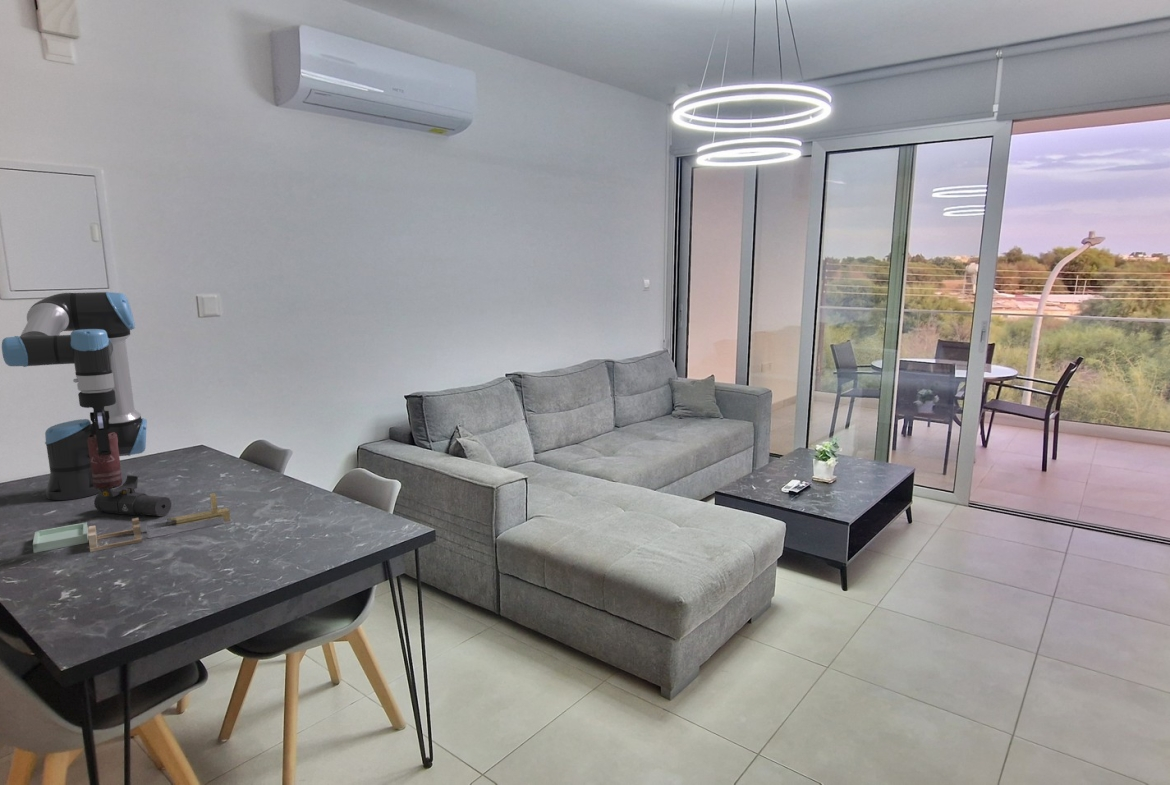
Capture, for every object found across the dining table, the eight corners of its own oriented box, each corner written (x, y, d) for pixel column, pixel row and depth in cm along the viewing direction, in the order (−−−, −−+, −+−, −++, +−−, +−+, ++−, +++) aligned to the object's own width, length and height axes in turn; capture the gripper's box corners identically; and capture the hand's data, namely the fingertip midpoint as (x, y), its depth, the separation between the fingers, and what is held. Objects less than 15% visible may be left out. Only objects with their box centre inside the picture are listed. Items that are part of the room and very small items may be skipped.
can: (128, 484, 172) (122, 432, 170) (102, 491, 166) (95, 437, 164) (115, 482, 174) (108, 430, 172) (88, 488, 169) (81, 435, 166)
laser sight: (150, 522, 186) (146, 489, 185) (86, 516, 191) (82, 483, 189) (178, 510, 196) (174, 479, 194) (116, 505, 200) (112, 473, 199)
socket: (90, 539, 173) (88, 525, 173) (139, 530, 180) (138, 516, 179) (90, 552, 166) (88, 537, 165) (142, 541, 172) (140, 527, 172)
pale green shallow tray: (36, 539, 174) (35, 531, 173) (88, 529, 180) (87, 522, 180) (33, 552, 165) (32, 544, 165) (87, 542, 172) (86, 534, 171)
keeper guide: (146, 531, 179) (146, 524, 179) (220, 517, 190) (219, 510, 190) (148, 538, 175) (147, 531, 174) (223, 523, 185) (223, 516, 185)
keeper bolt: (168, 528, 181) (164, 501, 180) (228, 517, 190) (225, 491, 188) (169, 532, 179) (165, 504, 177) (230, 520, 187) (227, 493, 186)
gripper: (78, 387, 169) (90, 474, 173) (77, 396, 158) (90, 488, 163) (113, 384, 173) (124, 469, 178) (115, 392, 163) (126, 482, 167)
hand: (108, 478), depth 170 cm, fingers closed
